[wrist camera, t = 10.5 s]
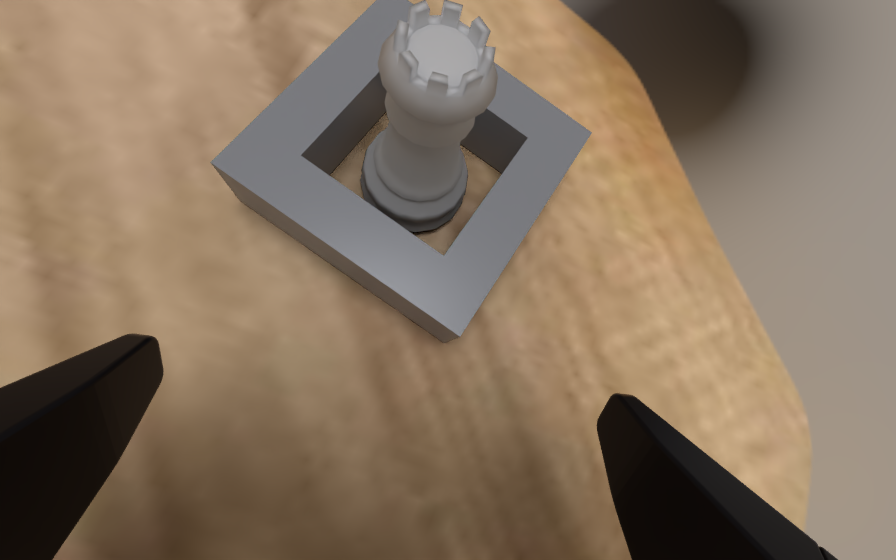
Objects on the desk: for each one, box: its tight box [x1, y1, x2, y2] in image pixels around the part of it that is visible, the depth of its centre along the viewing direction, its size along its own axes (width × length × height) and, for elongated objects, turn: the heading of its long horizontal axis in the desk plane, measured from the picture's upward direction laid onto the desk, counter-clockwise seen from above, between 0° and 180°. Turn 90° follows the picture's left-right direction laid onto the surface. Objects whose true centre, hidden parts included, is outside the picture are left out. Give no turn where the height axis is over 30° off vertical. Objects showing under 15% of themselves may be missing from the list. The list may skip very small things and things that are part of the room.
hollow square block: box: [210, 0, 592, 343], centre depth 16 cm, size 10×10×3 cm
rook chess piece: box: [360, 0, 498, 232], centre depth 14 cm, size 4×4×8 cm
